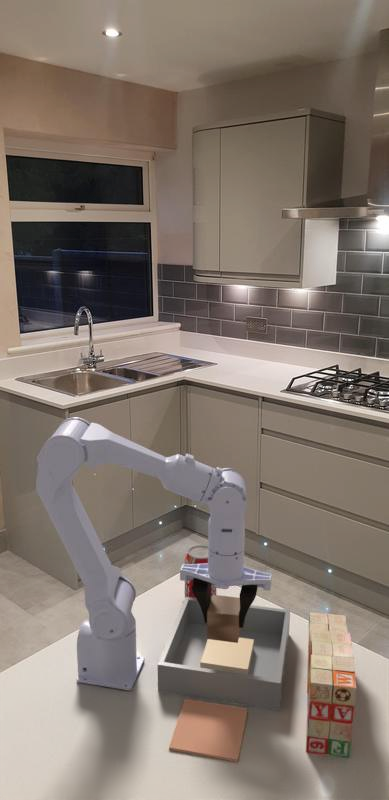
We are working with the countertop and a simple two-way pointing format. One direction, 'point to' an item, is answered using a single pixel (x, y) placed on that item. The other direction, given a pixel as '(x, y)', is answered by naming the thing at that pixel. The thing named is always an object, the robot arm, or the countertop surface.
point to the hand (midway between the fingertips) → (224, 621)
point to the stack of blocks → (330, 686)
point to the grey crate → (227, 658)
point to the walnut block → (223, 618)
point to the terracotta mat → (209, 730)
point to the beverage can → (196, 557)
